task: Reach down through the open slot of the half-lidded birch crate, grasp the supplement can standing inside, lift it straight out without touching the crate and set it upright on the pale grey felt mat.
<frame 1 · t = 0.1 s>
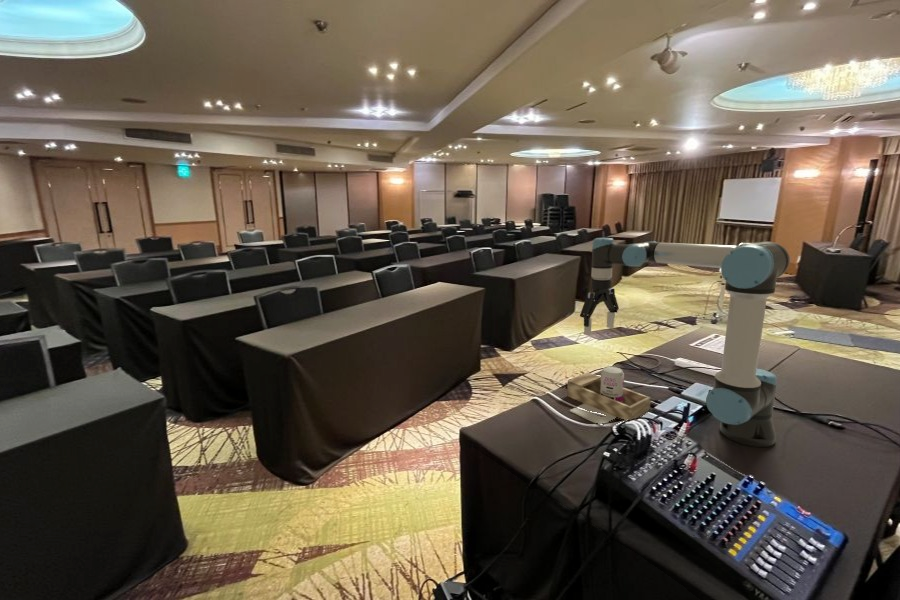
hand: (599, 330, 163), 28 cm above the table, fingers open, 13 cm apart
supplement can: (610, 406, 160), resting in crate
mat: (592, 414, 154), on the table
crate: (606, 403, 162), on the table
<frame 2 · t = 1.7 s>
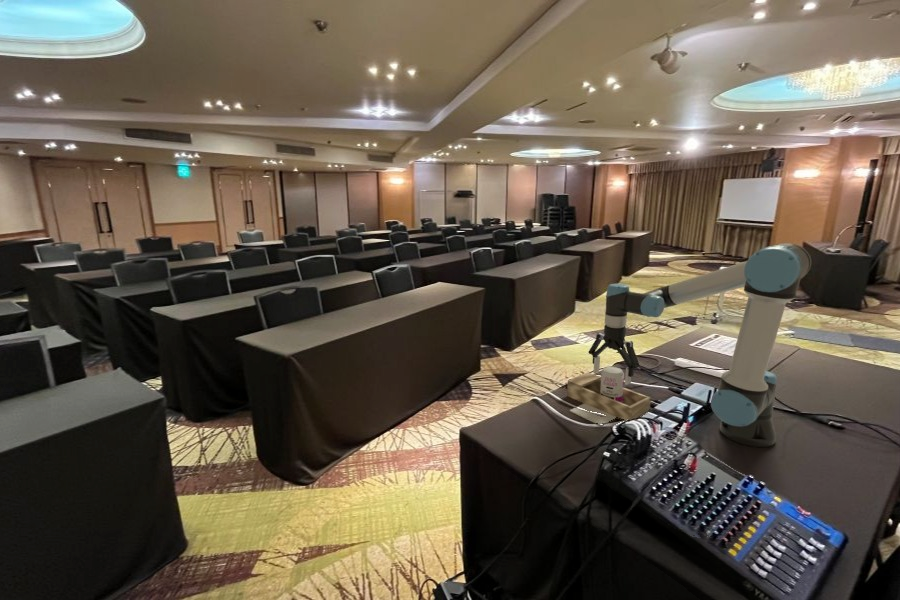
hand: (611, 377, 158), 11 cm above the table, fingers open, 13 cm apart
nothing on the table moved.
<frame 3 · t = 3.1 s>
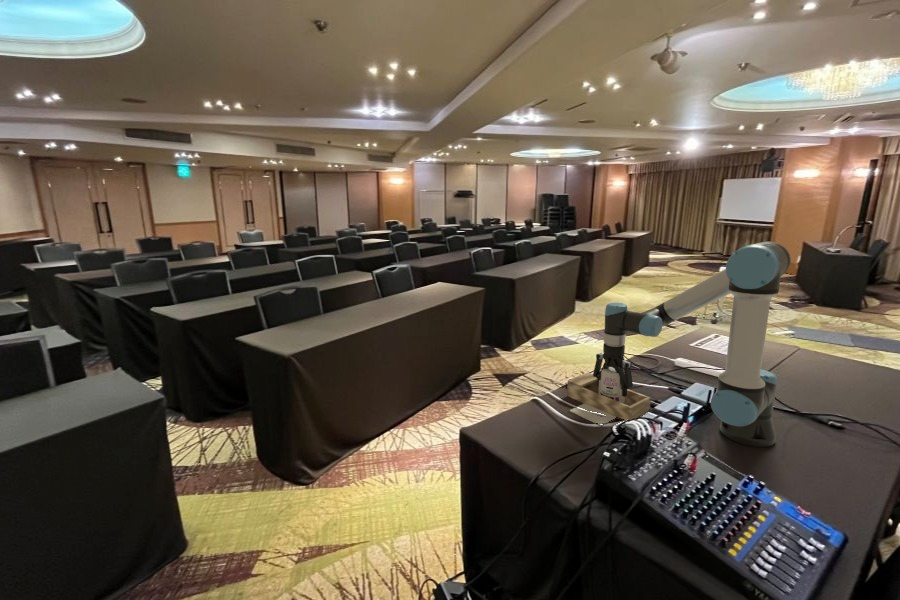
hand: (611, 398, 160), 3 cm above the table, fingers closed on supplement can, 8 cm apart
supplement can: (610, 406, 160), resting in crate, touching gripper
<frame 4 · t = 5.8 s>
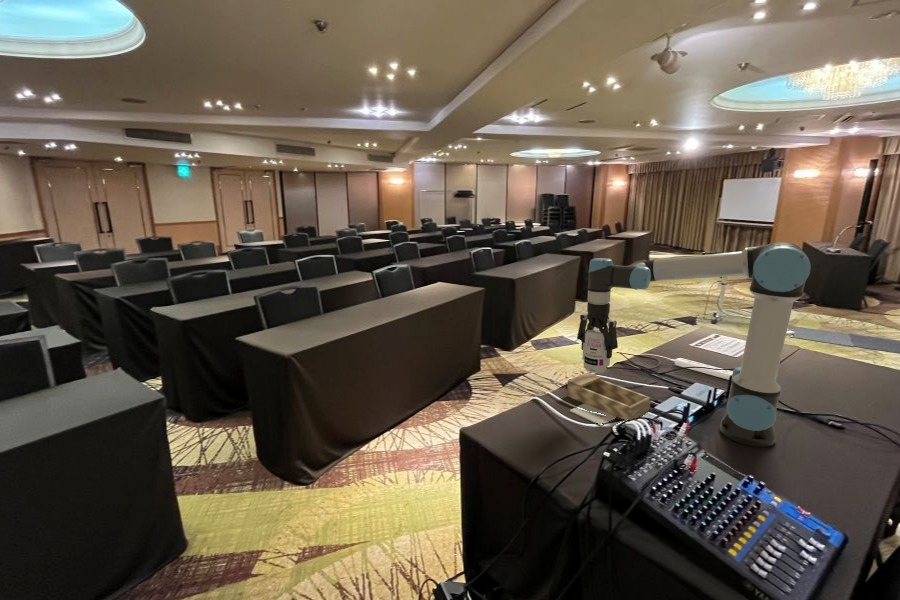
hand: (595, 362, 150), 21 cm above the table, fingers closed on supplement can, 8 cm apart
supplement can: (595, 370, 151), point 18 cm above the table, touching gripper
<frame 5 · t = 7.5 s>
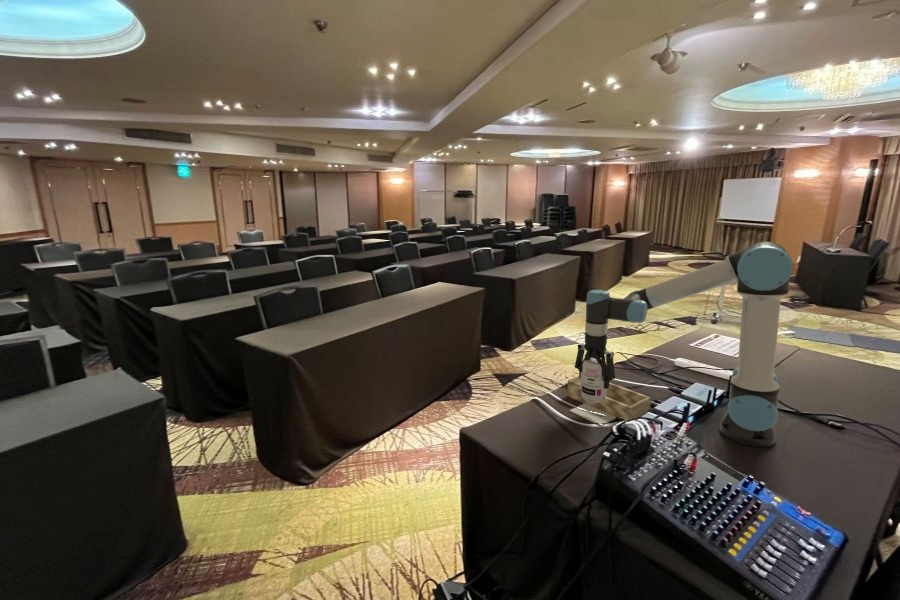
hand: (593, 391, 152), 9 cm above the table, fingers closed on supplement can, 8 cm apart
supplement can: (592, 399, 153), point 6 cm above the table, touching gripper
when the fingers open (6 cm above the table, at t = 8.6 s): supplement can drops 2 cm, resting on mat.
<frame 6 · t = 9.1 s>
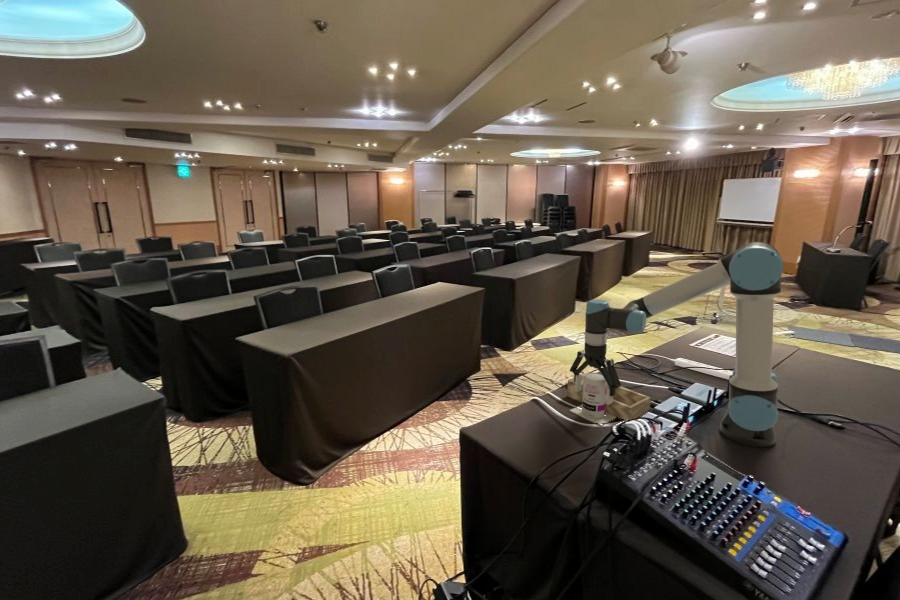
hand: (593, 397, 152), 7 cm above the table, fingers open, 13 cm apart
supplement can: (593, 414, 154), resting on mat
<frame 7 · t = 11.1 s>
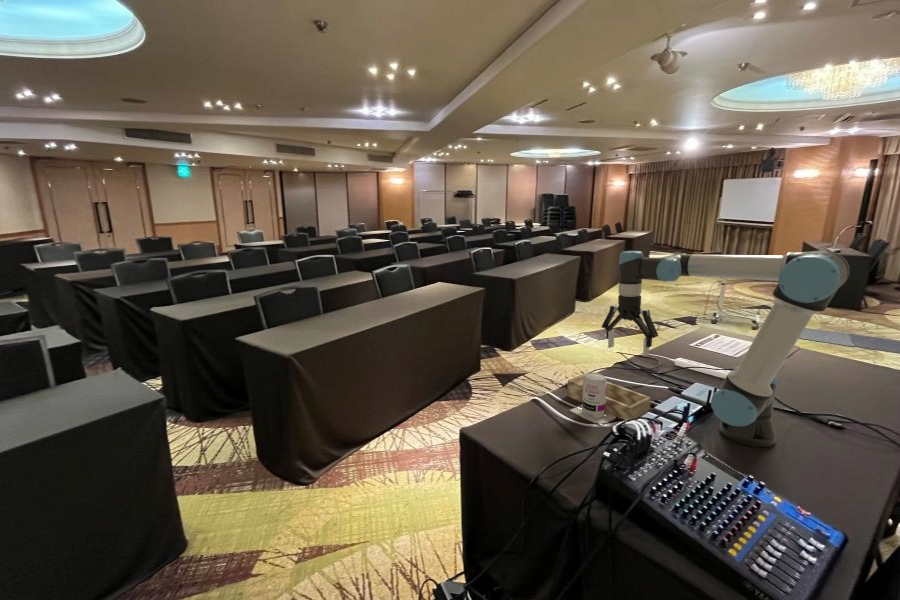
hand: (627, 351, 151), 24 cm above the table, fingers open, 13 cm apart
nothing on the table moved.
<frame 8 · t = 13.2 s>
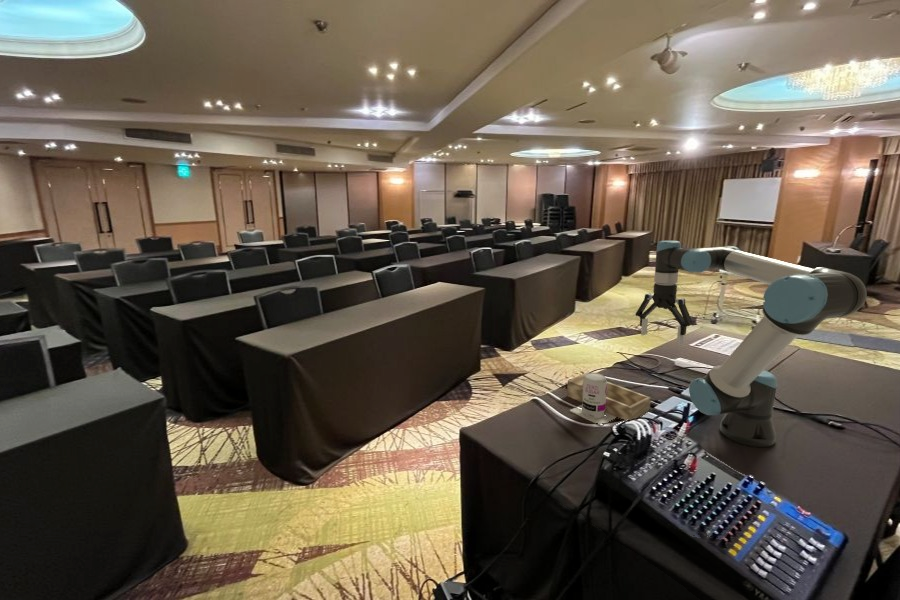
hand: (661, 338, 155), 27 cm above the table, fingers open, 13 cm apart
nothing on the table moved.
at the end: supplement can inside the target area on the mat (0.4 cm from its centre), point 0.3 cm above the mat's base; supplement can tilted 0°; the gripper is holding nothing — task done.
